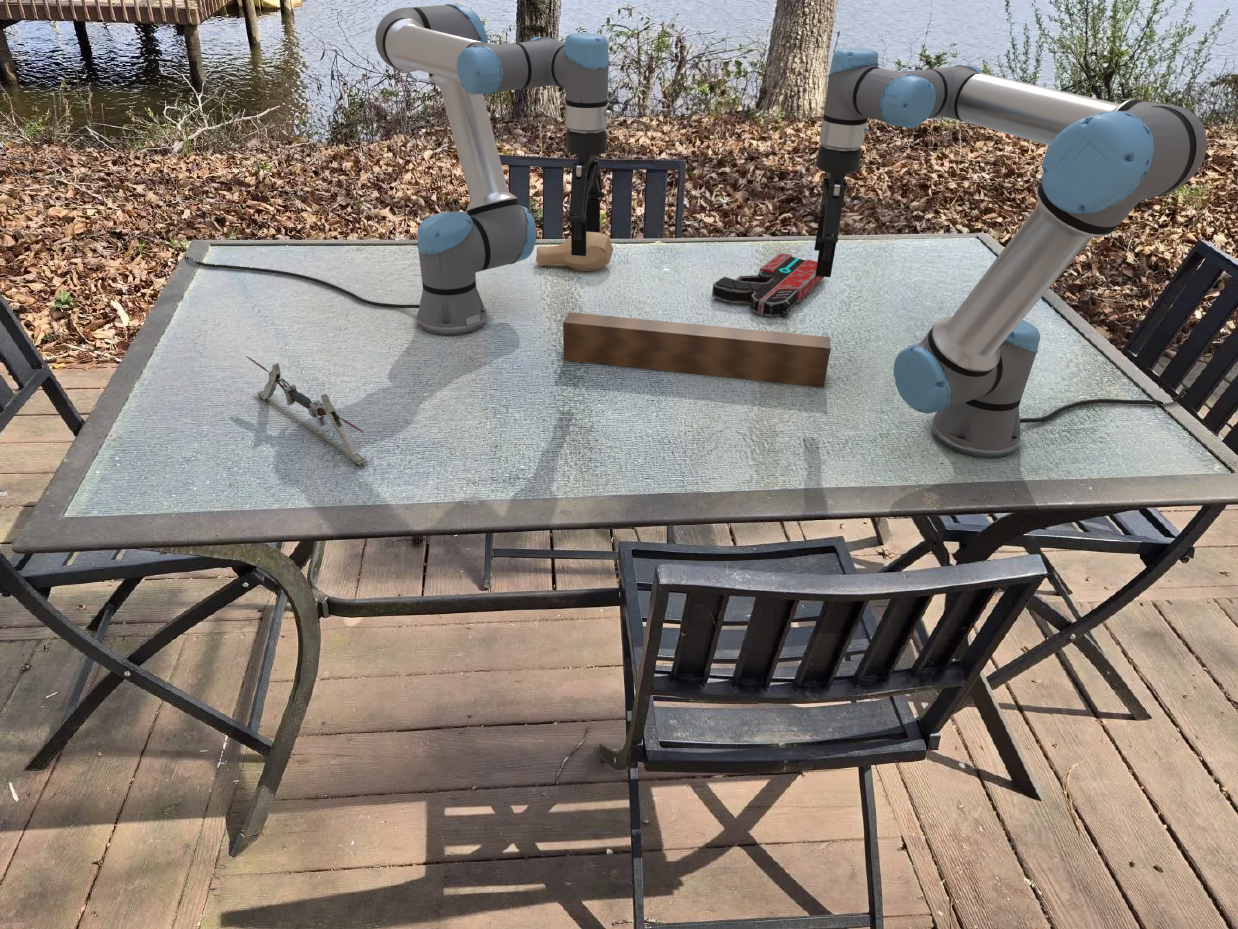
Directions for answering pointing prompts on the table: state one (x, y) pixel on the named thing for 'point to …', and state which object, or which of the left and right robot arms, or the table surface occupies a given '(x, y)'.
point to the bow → (311, 409)
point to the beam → (696, 349)
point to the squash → (595, 256)
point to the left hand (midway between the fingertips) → (586, 243)
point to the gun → (771, 285)
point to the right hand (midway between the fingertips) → (822, 262)
